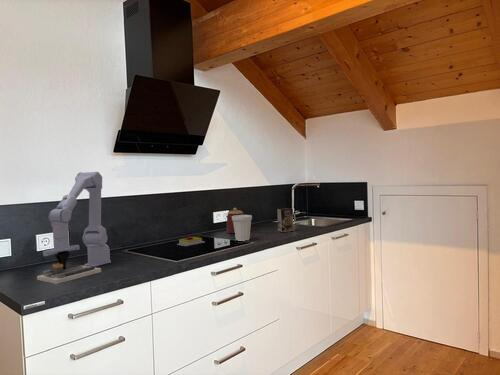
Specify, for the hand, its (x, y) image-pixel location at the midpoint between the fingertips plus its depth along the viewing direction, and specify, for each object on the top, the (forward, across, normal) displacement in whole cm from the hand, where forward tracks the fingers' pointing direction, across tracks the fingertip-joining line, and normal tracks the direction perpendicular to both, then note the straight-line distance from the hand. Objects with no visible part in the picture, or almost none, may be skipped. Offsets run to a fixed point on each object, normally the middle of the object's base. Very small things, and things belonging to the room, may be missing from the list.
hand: (63, 269), depth 152 cm
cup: (+4, +99, -24) cm, 102 cm away
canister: (+4, +125, -1) cm, 125 cm away
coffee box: (+4, +139, -33) cm, 143 cm away
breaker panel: (+3, +3, 0) cm, 4 cm away
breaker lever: (+1, -2, 0) cm, 2 cm away
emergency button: (+4, +81, +2) cm, 81 cm away
